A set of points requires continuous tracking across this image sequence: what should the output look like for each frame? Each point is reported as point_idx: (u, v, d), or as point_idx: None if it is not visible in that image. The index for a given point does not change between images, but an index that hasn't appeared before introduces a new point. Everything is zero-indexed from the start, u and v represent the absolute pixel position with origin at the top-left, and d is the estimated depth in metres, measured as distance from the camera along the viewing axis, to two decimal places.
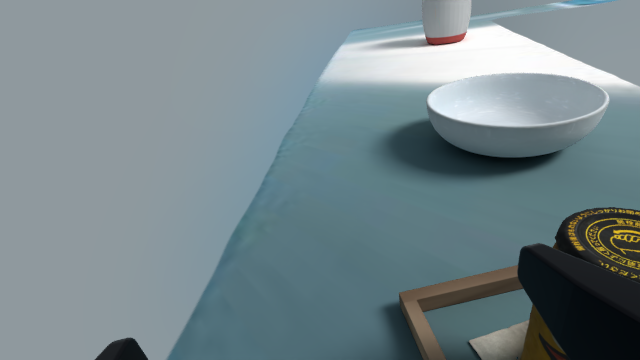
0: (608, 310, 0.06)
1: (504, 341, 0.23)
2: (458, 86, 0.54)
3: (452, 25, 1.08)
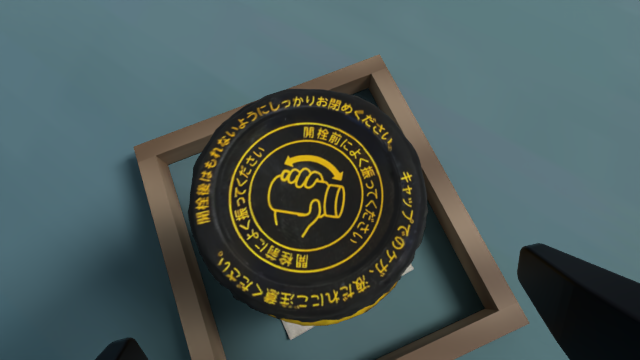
0: (608, 310, 0.06)
1: None
2: None
3: None
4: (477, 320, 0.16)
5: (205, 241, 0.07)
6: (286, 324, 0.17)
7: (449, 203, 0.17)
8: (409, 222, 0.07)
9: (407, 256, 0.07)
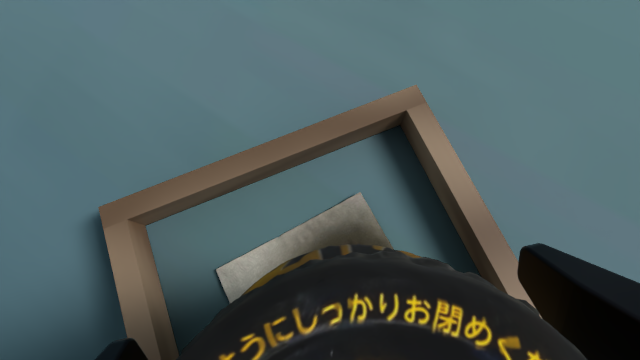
0: (608, 310, 0.06)
1: (268, 263, 0.15)
2: None
3: None
4: None
5: None
6: None
7: (516, 290, 0.13)
8: None
9: None
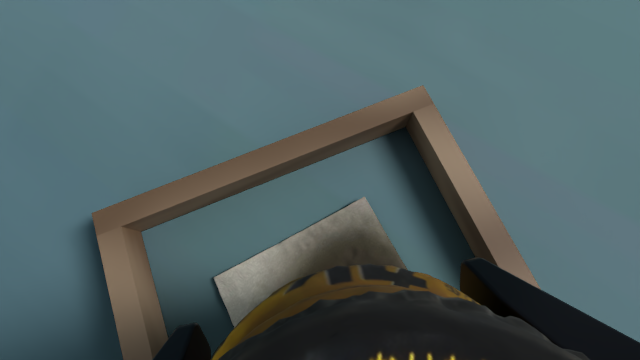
0: None
1: (268, 271, 0.14)
2: None
3: None
4: None
5: None
6: None
7: None
8: None
9: None
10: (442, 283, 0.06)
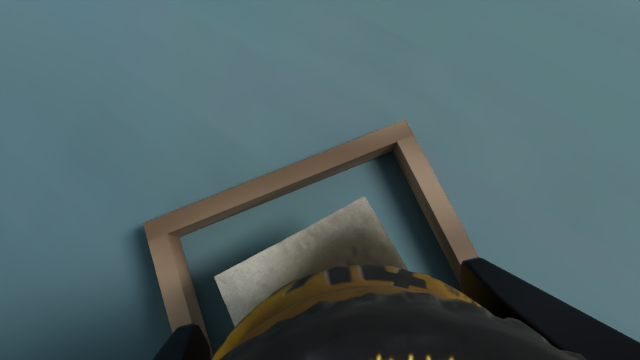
0: None
1: (268, 270, 0.14)
2: None
3: None
4: None
5: None
6: None
7: None
8: None
9: None
10: (442, 283, 0.06)
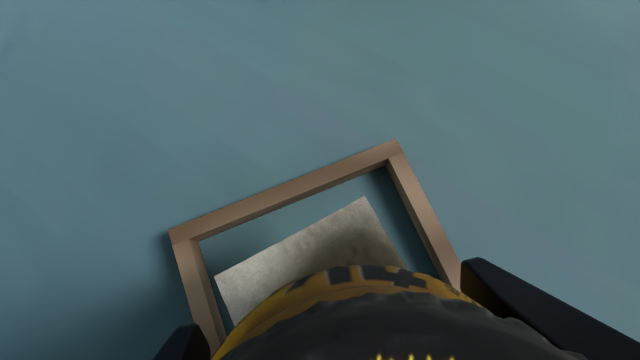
0: None
1: (268, 270, 0.14)
2: None
3: None
4: None
5: None
6: None
7: None
8: None
9: None
10: (442, 283, 0.06)
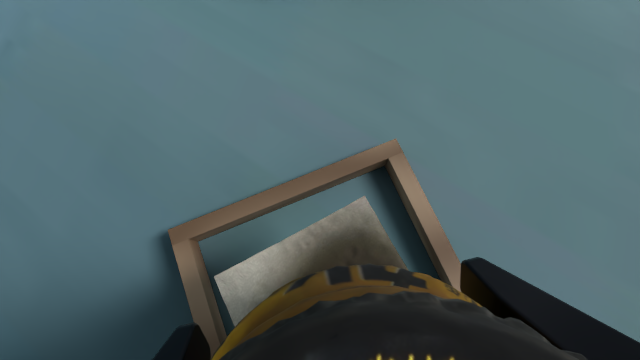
0: None
1: (268, 270, 0.14)
2: None
3: None
4: None
5: None
6: None
7: None
8: None
9: None
10: (442, 283, 0.06)
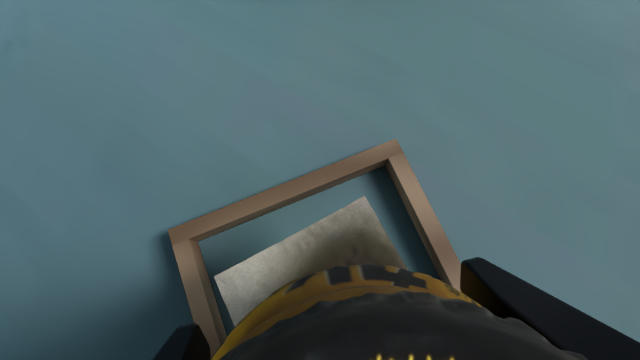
0: None
1: (268, 270, 0.14)
2: None
3: None
4: None
5: None
6: None
7: None
8: None
9: None
10: (442, 283, 0.06)
